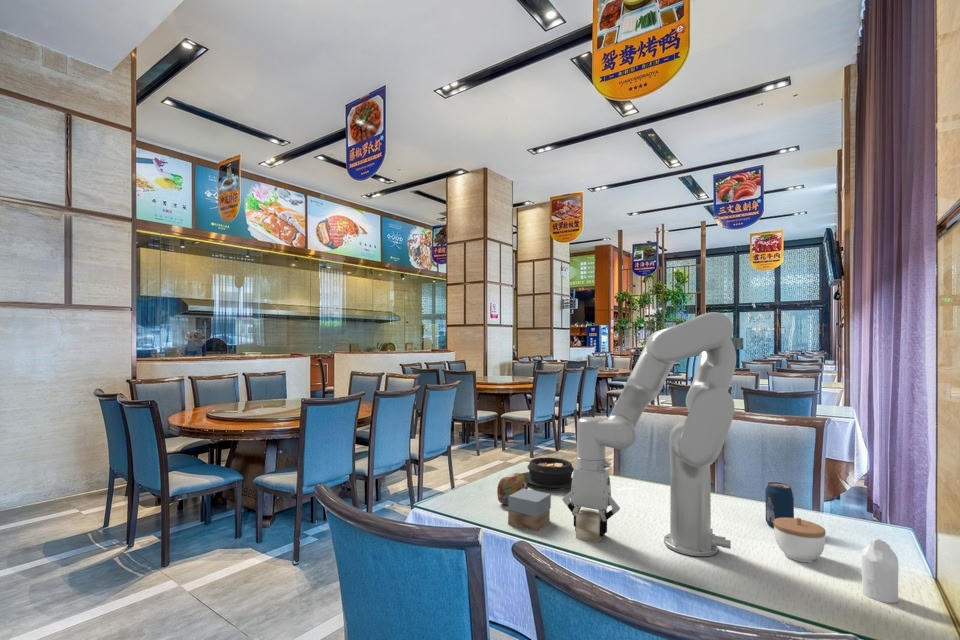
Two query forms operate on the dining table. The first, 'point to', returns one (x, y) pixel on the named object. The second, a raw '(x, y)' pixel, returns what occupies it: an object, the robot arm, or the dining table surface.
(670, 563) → the dining table surface
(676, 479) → the robot arm
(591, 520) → the maple cube
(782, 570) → the dining table surface
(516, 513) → the walnut block
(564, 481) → the casserole
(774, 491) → the soda can
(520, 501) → the slate block
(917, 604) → the dining table surface
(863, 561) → the white plastic bottle
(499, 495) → the tin
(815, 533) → the lidded jar
